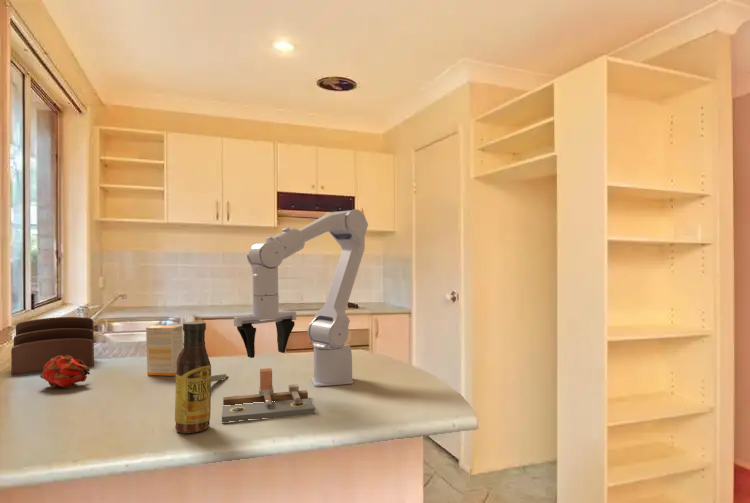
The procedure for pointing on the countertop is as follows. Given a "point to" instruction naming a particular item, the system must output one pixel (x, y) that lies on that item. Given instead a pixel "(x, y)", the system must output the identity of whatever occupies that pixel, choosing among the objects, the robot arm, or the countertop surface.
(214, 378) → the caliper
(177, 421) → the sauce bottle
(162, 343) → the supplement box
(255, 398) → the rail
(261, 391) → the orange handled lever
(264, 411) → the bolt plate
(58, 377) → the dragon fruit
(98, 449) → the countertop surface
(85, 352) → the letter holder
